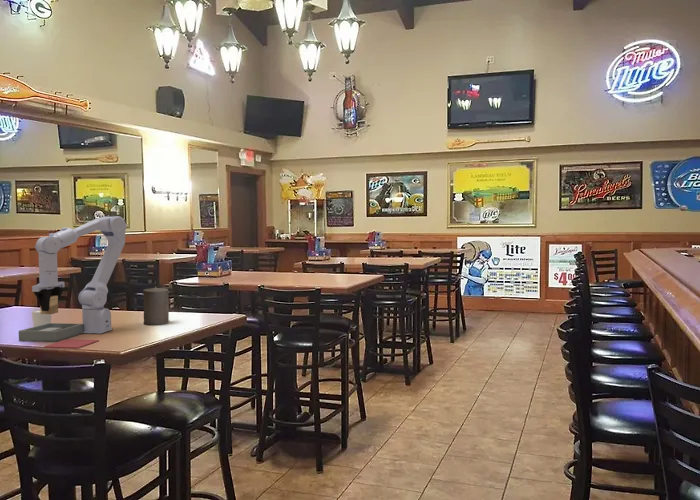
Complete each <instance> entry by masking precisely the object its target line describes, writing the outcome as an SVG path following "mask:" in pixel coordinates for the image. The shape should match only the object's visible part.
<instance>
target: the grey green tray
mask: <svg viewBox="0 0 700 500" xmlns="http://www.w3.org/2000/svg"><path fill="white" fill-rule="evenodd" d="M82 332H84V324H83V323H74V322H73V323H68V322H67V323H63V322H51V323H47V324H43V325H39V326H35V327H34V326H32V327H28V328H24V329H21V330H18V342H45V343H48V342H49V343H50V342H51V343H56V342H60V341H63V340H66V339H70V338H72V337H76V336H79V334H80V335H82Z"/></svg>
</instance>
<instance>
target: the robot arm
mask: <svg viewBox="0 0 700 500" xmlns="http://www.w3.org/2000/svg"><path fill="white" fill-rule="evenodd" d="M127 228H128V226H127V223H126V221H125V219H124V218H123V217H122V216H121V215H120V216H119V215H114V216H106V215H105V216H101V217H98V218H94V219H92V220H90V221H88V222H86V223H84V224H82V225H80V226H77V227H76V228H71V227H66V226H65V227H61V228H60V230H59V231H57V232H54V233H53V232H51V233H49V234H48V236H42V237H39V238H38V240H36V243H35V245H34V249H35V250H36V252H37V253H38V272H39V273H38V276H39V279H38V280H39V283H37V284H35V285H32V286H31V292H33V294H34V295H35V297H36V299H37V300H38V303H39V306H41V309H42V311H49V301H50V296H58V304H59V303H60V298H61V297H62V294H63V292H64V288H65V287H66V284H65V281H59V280H58V278H59V277H58V276H59V275H58V272H59V271H58V252H59V251H60V250H61V249H63V248H65V247H68V246H70V245H72V244H75V243H76V242H77V240H78V239H79V237H83V236H85V235H88V234H90V233H93V232H95V231H100V232H101V234H102V235H103V236H104V237H105V238H106V241H107V242H108V243H107V246H106V249H105V251H104V253H103V255H102V256H101V259H100V261H99V264H98V266H97V268H96V270H95V273H94V274H93V277H92V279H91V280H90V281H89V282H88V283H87V284H85V287H84V288H83V289H82V290H81V291H80V292H79V293H78V302H79V304H80V305H81V308H82V309H81V312H82V313H81V314H82V319H81V320H82V324H84V332H82V333H83V334H104V333H106V332H110V331H112V330H113V328H112V312H111V310H110V309H109V308H107V307H106V308H105V307H104V306H105V304H106V303H107V299H108V298H107V297H108V296H107V295H108V293H109V289H108V286H107V285H108V283H109V281H110V278H111V276H112V274H113V272H114V269H115V267H116V264H118V263H117V262H118V261H119V258H120V256H121V253H122V252H123V249H124V247H125V245H126V231H127Z"/></svg>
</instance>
